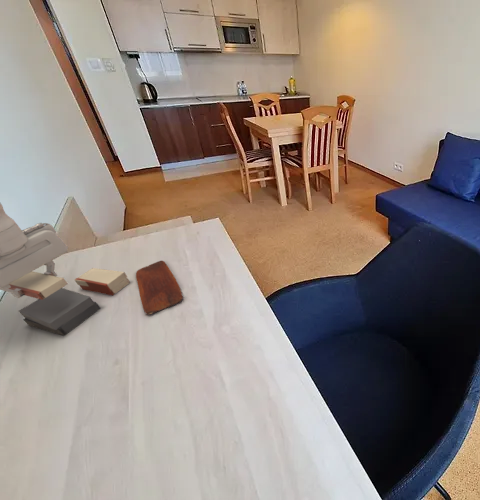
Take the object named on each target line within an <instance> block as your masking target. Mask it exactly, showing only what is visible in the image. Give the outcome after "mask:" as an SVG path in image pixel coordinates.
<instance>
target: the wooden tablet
mask: <svg viewBox="0 0 480 500" xmlns="http://www.w3.org/2000/svg"><path fill="white" fill-rule="evenodd" d="M135 280H136V283H137V287H138V293H139V298H140V302H141V306H142V309H143V311H144V313H145V314H146V315H148V316H149V315H153V314H155V313H158V312H160V311H162V310H164V309H167V308H170V307H172V306H174V305H175V306H176V304H179V303H180V302H181V301H183V299H184V298H183V293H182V289H181V287H180V285H179V283H178V281H177V279H176V277H175V275H174V274H173V272H172V271H171V269H170V267H169V265H167V263H166V262H165V261H164V260H158V261H156V262H153V263H151V264H149V265H147V266H144V267H142V268H140V269H138V270H137V271H136V272H135Z"/></svg>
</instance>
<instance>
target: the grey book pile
mask: <svg viewBox="0 0 480 500" xmlns="http://www.w3.org/2000/svg"><path fill="white" fill-rule="evenodd" d="M99 310H101V307H100V305H99V304H98V303H97V301H94V299H92V297H91V296H89V295H87V294H86V295H85V294H82V293H79V292H77V291H73V290H70V289H67V288H64V287H62V288H61V289H59V290H57V291H56V292H54V293H53V294H51V295H49V296H48V297H46V298H45V299H43V300H41V299H36V300H35V301H33V302H30V304H28V305H26V306H24V307H23V308H21V309H19V310H18V311H17V312H18V313H19V314H20V315H21V316H22V317H23V319H22V320H23V322H25V324H27V326H29V327H31V328H35V329H39V330H41V331H44V332H49V333H51V334H52V333H53V334H57V335H60V336H63V337H65V336H66V335H67V334H69V333H70V332H72V331H73V330H75V328H77V327H78V326H80V325H81V324H82V323H83V322H85V321H86V320H88V318H90V317H91V316H93V315H94V314H95V313H96V312H98V311H99Z"/></svg>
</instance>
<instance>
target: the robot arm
mask: <svg viewBox="0 0 480 500" xmlns="http://www.w3.org/2000/svg"><path fill="white" fill-rule="evenodd" d="M68 252H69V246H68V244H67V243H66V242H65V241H64V239H62V238H61V237H60V236H59V235H58V234H57V230H56V229H55V227H53V225H52V224H50V223H47V222H43V223H42V222H39V223H36V224H34V225H32V226H29V227H27V228H24V229H21V228H20V226H19V225H18V223H17V222H16V221H15V220H14V219H13V218H12V217H10V216H9V215H8V214H7V213H6V211H5V210H4V206H3V204H2V203H1V202H0V291H3V292H7V293H10V294H11V295H12V296H13V297H14V298H15V299H20V298H22V297H23V296H25V293H24V292H23V291H22V289H18V288H16V289H14V290H11V289H8V288H11V286H10V285H9V283H11V282H13V281H15V280H17V279H19V278H20V277H22V276H24V275H26V274H28V273H30V272H32V271H33V272H34V271H35V270H37V269H39V268H41V267H42V266H46V271H45V272H43V274H47V275H52V276H56V277H58V275H57V272H55V268H56V267H55V264H56V263H55V262H54V261H53V260H56V259H57V258H59V257H61V256H63V255H66V254H67V253H68Z"/></svg>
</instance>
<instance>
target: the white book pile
mask: <svg viewBox="0 0 480 500" xmlns="http://www.w3.org/2000/svg"><path fill="white" fill-rule="evenodd" d="M74 282H75V283H76V284H77V285H78V286H79V287H80V288H81V289H82V290H84V291H88V292H93V293H98V294H102V295H108V296H113V297H114V296H115V294H117V293H119V291H121V290H122V289H124V288H125V287H126V286H127V285H129V284H130V283H131V282H130V280H129V278H128V276H127V274H126V272H125V271H119V270H111V269H104V268H98V267H97V268H96V267H91V268H90V269H88V270H87V271H86V272H84V273H83V274H80V275H79V276H77V277H76V278H75V279H74Z"/></svg>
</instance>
